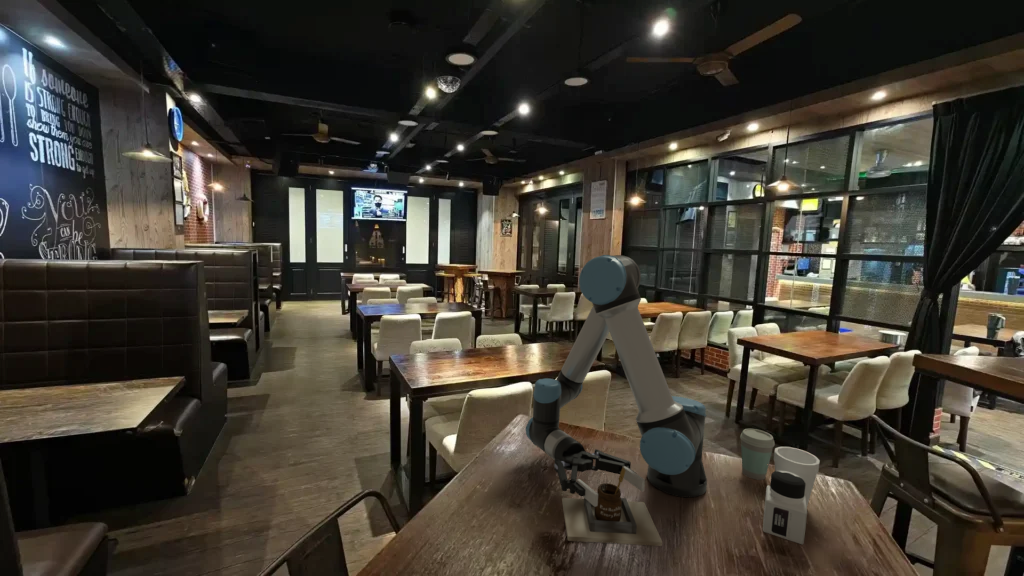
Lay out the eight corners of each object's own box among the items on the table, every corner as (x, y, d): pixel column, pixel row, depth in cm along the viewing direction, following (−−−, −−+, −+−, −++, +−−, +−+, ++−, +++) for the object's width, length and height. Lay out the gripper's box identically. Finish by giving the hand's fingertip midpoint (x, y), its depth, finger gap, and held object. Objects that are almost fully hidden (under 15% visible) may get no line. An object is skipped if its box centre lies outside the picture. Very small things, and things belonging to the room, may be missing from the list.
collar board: (643, 505, 105) (644, 494, 105) (661, 546, 91) (662, 532, 91) (562, 501, 105) (562, 490, 105) (567, 540, 92) (568, 527, 91)
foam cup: (809, 500, 110) (815, 452, 109) (817, 520, 102) (824, 468, 100) (767, 490, 114) (772, 443, 113) (771, 509, 106) (777, 459, 104)
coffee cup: (776, 484, 117) (780, 442, 116) (742, 480, 118) (746, 438, 117) (764, 468, 125) (768, 429, 124) (732, 464, 127) (736, 426, 126)
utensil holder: (591, 510, 101) (593, 461, 100) (616, 509, 101) (620, 461, 100) (598, 526, 95) (601, 475, 94) (625, 526, 96) (629, 475, 94)
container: (803, 545, 93) (810, 489, 91) (762, 532, 97) (768, 477, 95) (802, 526, 99) (808, 473, 98) (763, 514, 103) (769, 463, 102)
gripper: (601, 454, 119) (659, 494, 101) (523, 474, 107) (573, 524, 89) (602, 428, 118) (662, 464, 100) (524, 445, 107) (575, 490, 88)
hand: (620, 492), depth 94 cm, fingers open, 13 cm apart
